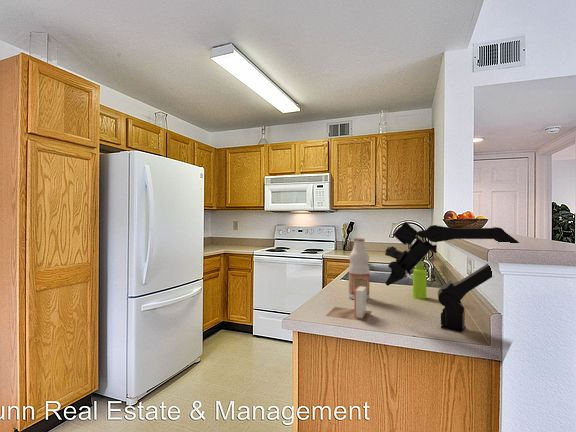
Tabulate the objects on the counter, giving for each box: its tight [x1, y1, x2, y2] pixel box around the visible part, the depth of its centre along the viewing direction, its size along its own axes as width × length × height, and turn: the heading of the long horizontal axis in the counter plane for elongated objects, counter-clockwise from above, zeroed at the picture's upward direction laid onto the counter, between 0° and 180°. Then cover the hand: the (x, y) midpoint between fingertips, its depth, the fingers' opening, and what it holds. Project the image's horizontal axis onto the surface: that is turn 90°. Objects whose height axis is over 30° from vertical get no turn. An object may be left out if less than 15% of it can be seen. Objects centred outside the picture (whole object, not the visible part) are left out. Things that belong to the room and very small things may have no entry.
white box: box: [353, 286, 367, 318], centre depth 120 cm, size 3×8×10 cm, turn 156°
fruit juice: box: [348, 237, 370, 301], centre depth 148 cm, size 9×9×28 cm
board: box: [325, 306, 372, 322], centre depth 122 cm, size 15×13×1 cm
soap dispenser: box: [412, 255, 429, 300], centre depth 149 cm, size 6×7×20 cm
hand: (386, 284), depth 117 cm, fingers closed
